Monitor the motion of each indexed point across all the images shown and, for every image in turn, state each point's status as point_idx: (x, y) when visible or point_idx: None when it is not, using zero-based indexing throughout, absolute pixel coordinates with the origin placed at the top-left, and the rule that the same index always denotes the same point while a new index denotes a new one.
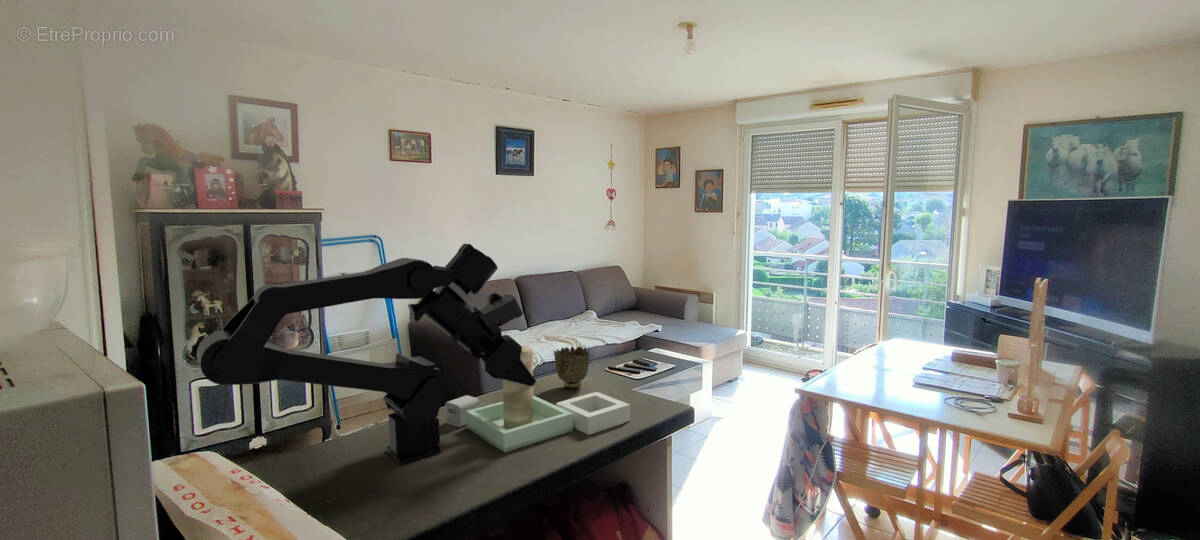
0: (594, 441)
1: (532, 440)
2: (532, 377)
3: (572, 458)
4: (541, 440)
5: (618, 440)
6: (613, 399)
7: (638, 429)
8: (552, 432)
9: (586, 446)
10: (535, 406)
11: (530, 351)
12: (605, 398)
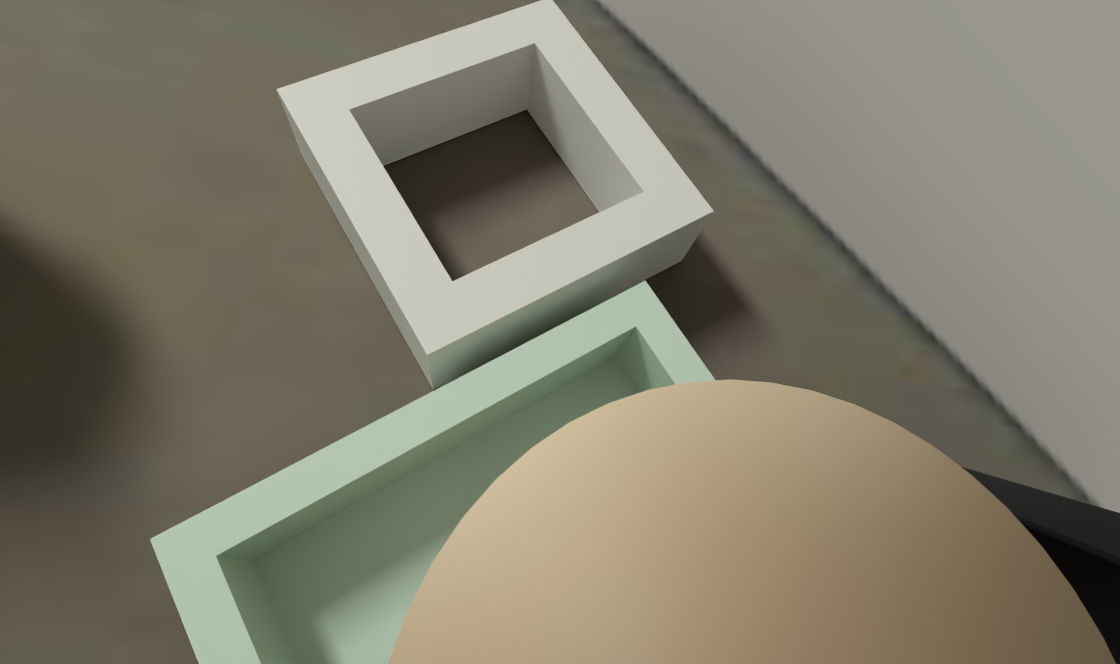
0: (754, 248)
1: None
2: (988, 482)
3: (928, 365)
4: None
5: (748, 157)
6: (452, 42)
7: (639, 62)
8: None
9: (806, 289)
10: (320, 512)
11: (905, 431)
12: (423, 73)
